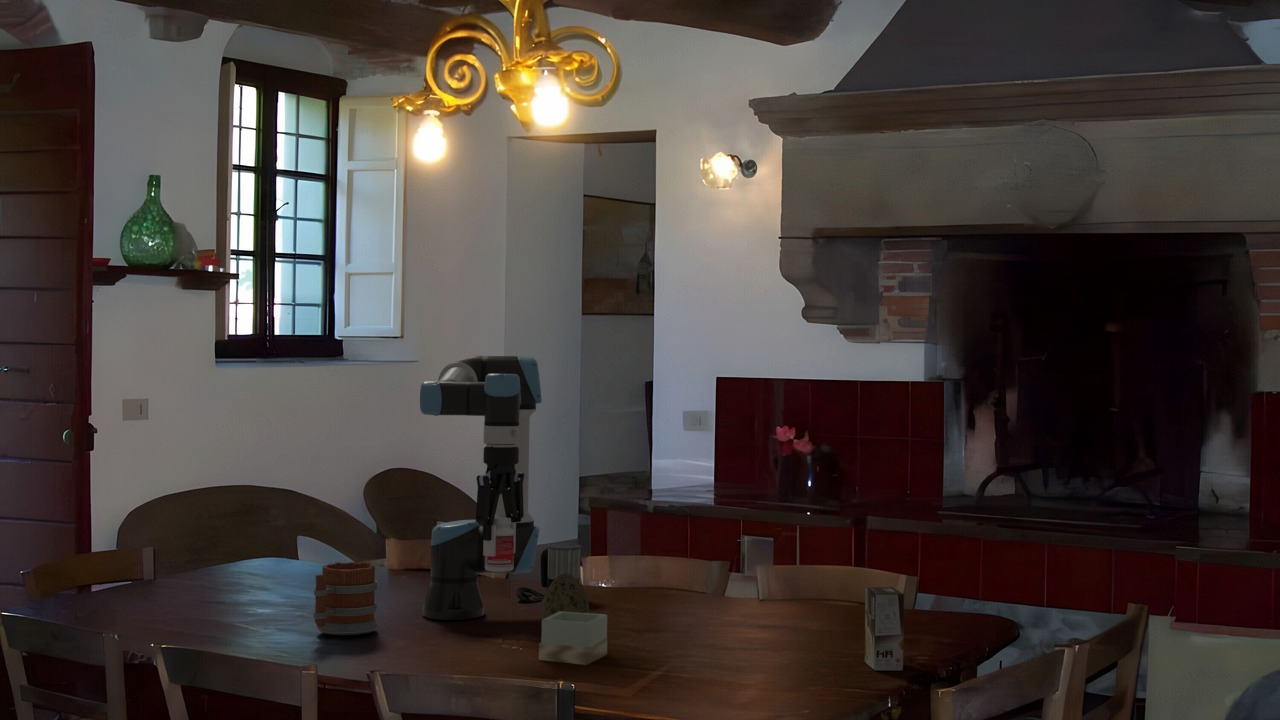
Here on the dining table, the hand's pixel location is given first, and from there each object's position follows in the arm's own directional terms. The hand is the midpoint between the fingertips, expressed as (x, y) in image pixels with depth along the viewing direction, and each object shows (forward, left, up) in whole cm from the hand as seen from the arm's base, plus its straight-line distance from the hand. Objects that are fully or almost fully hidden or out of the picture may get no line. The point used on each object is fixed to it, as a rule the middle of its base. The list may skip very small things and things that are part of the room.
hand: (499, 553), depth 285 cm
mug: (-46, 0, -22) cm, 51 cm away
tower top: (+13, +9, -18) cm, 25 cm away
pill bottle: (0, 0, -4) cm, 4 cm away
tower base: (+13, +9, -22) cm, 28 cm away
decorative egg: (+1, +23, -22) cm, 32 cm away
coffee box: (+71, +40, -22) cm, 85 cm away
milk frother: (-31, +62, -22) cm, 72 cm away
